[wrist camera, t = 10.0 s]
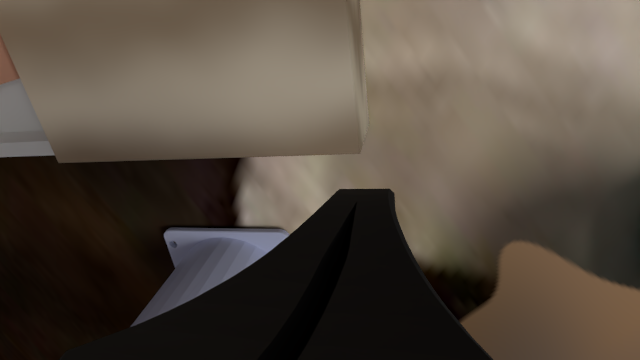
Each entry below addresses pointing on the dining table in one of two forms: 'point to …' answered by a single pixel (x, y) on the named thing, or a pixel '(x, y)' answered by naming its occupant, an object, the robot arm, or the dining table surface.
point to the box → (20, 124)
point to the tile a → (6, 65)
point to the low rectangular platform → (191, 76)
